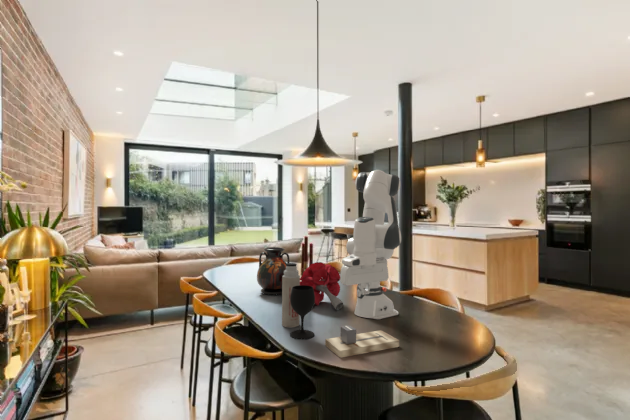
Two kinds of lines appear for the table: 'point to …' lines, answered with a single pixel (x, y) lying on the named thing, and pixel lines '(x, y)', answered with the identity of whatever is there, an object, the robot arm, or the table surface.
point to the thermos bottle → (288, 283)
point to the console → (362, 344)
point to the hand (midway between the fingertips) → (365, 294)
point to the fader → (348, 334)
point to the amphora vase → (272, 271)
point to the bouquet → (323, 282)
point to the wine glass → (302, 308)
